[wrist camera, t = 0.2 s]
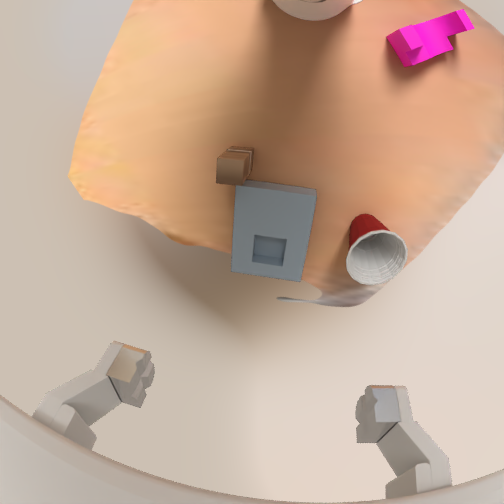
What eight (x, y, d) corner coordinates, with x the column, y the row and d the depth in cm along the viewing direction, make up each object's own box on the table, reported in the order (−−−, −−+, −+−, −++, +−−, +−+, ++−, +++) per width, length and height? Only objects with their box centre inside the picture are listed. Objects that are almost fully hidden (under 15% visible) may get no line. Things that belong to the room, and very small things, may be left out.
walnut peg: (231, 146, 51) (216, 157, 42) (254, 148, 50) (244, 160, 42) (229, 167, 53) (215, 183, 44) (252, 170, 52) (242, 186, 44)
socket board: (240, 178, 54) (235, 185, 50) (315, 189, 52) (316, 196, 49) (234, 261, 63) (230, 271, 59) (300, 270, 62) (300, 282, 58)
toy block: (403, 67, 38) (419, 64, 32) (385, 37, 36) (398, 29, 29) (461, 45, 32) (481, 41, 26) (445, 16, 30) (463, 9, 24)
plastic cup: (359, 261, 58) (369, 298, 48) (326, 225, 56) (332, 259, 45) (400, 230, 53) (419, 262, 43) (369, 190, 51) (386, 217, 40)
